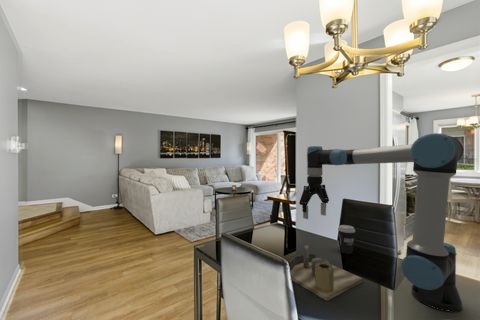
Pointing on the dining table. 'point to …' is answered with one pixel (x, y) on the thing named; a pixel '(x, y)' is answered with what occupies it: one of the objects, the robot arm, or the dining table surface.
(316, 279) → the tan piece
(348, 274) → the carrier
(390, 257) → the dining table surface
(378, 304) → the dining table surface
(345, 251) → the coffee cup
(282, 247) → the dining table surface
